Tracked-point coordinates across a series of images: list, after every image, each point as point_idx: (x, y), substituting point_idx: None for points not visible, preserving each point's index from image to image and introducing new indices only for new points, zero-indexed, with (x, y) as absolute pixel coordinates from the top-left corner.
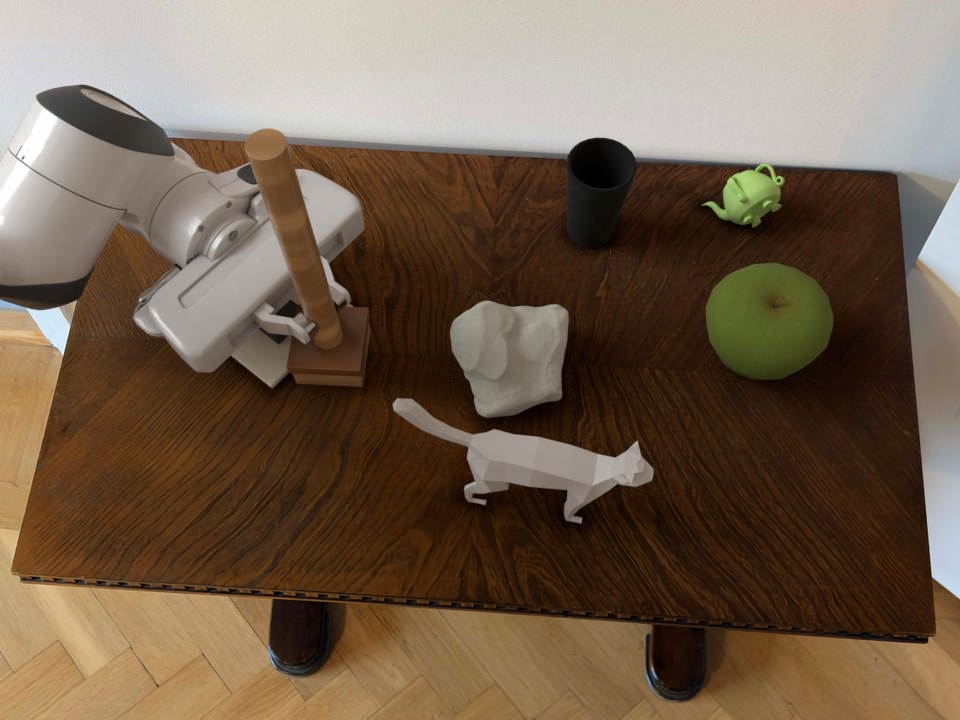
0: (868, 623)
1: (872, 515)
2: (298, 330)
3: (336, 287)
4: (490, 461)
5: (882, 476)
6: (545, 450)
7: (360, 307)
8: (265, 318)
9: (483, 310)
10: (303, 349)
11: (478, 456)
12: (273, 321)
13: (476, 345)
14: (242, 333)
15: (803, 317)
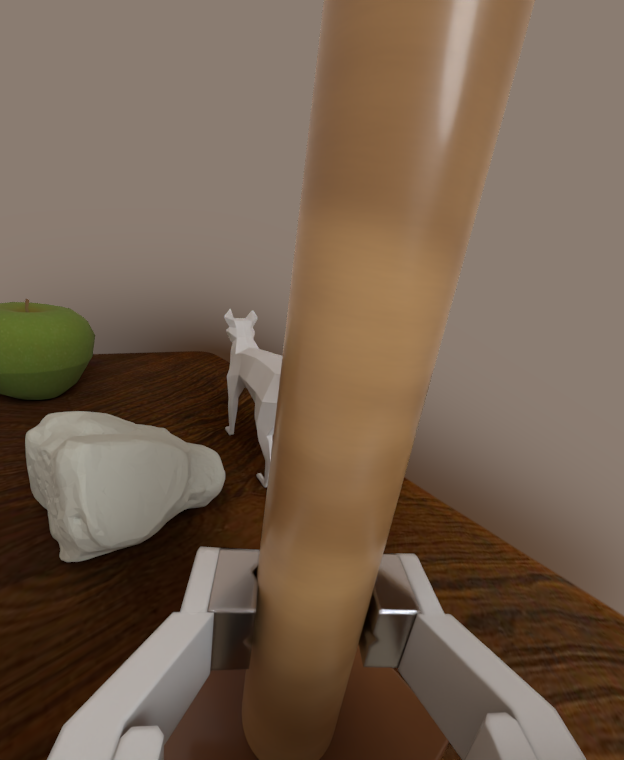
0: (220, 358)
1: (161, 359)
2: (419, 565)
3: (206, 580)
4: None
5: (133, 358)
6: (264, 352)
7: None
8: (539, 708)
9: (91, 441)
10: (376, 741)
11: None
12: (501, 662)
13: (155, 451)
14: None
15: (45, 304)
